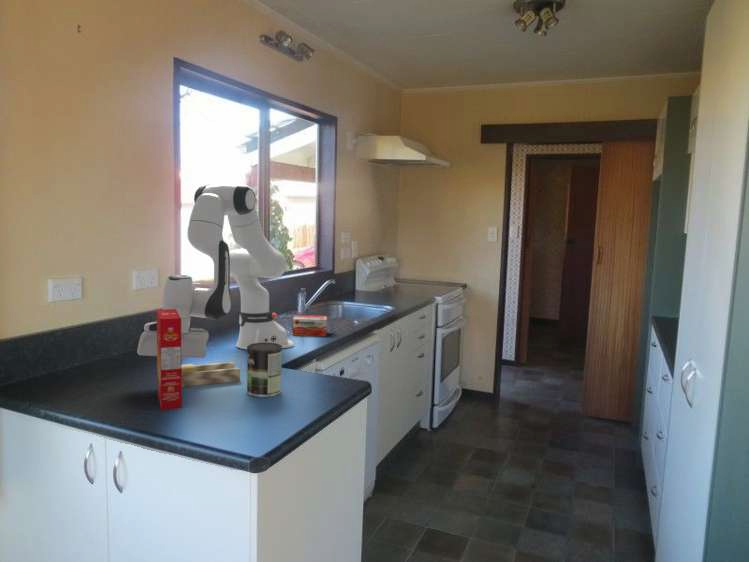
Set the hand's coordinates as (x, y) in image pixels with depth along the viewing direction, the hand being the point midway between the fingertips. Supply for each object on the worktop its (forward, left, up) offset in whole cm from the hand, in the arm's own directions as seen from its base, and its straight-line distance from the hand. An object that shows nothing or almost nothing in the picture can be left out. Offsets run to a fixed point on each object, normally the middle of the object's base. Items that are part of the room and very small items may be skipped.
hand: (170, 371), depth 177 cm
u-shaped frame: (-11, 0, -4) cm, 11 cm away
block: (-5, 0, -4) cm, 6 cm away
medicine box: (-67, -54, -4) cm, 86 cm away
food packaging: (+2, +16, -4) cm, 17 cm away
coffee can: (-25, +18, -4) cm, 31 cm away
